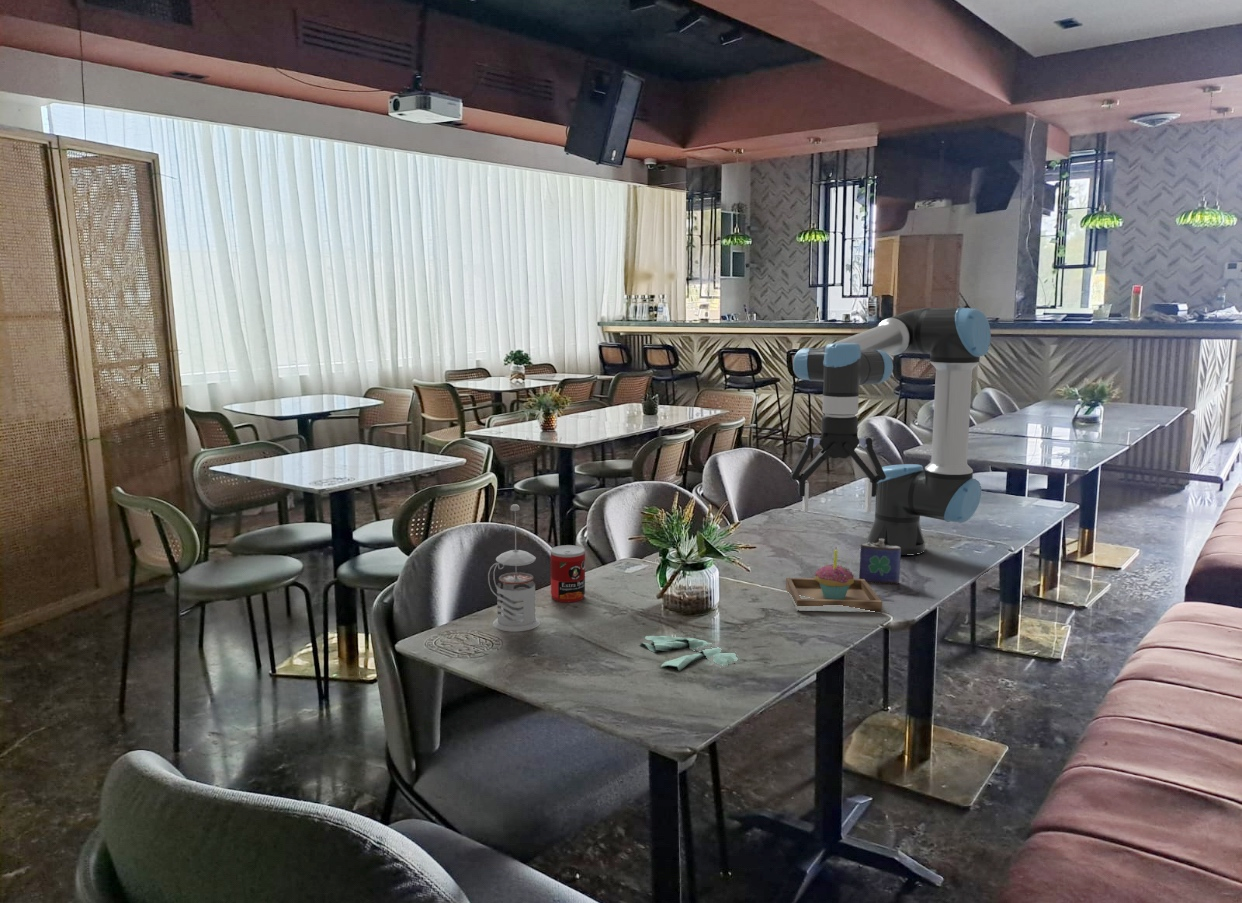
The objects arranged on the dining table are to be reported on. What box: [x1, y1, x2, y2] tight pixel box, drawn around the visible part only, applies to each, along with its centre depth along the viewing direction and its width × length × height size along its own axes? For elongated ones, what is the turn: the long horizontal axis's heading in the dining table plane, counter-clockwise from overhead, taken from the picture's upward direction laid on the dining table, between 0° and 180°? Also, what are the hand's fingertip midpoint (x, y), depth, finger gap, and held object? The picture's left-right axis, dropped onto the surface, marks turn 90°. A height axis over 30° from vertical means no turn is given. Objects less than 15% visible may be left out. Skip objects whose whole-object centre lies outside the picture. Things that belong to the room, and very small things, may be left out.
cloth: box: [638, 635, 738, 672], centre depth 163 cm, size 20×22×2 cm
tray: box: [785, 577, 883, 613], centre depth 194 cm, size 18×16×2 cm
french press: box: [487, 503, 541, 632], centre depth 177 cm, size 10×12×25 cm
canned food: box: [550, 544, 586, 603], centre depth 195 cm, size 8×8×11 cm
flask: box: [858, 538, 902, 585], centre depth 207 cm, size 9×3×11 cm, turn 74°
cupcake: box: [814, 546, 855, 600], centre depth 193 cm, size 9×8×12 cm
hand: (836, 511), depth 191 cm, fingers open, 13 cm apart
